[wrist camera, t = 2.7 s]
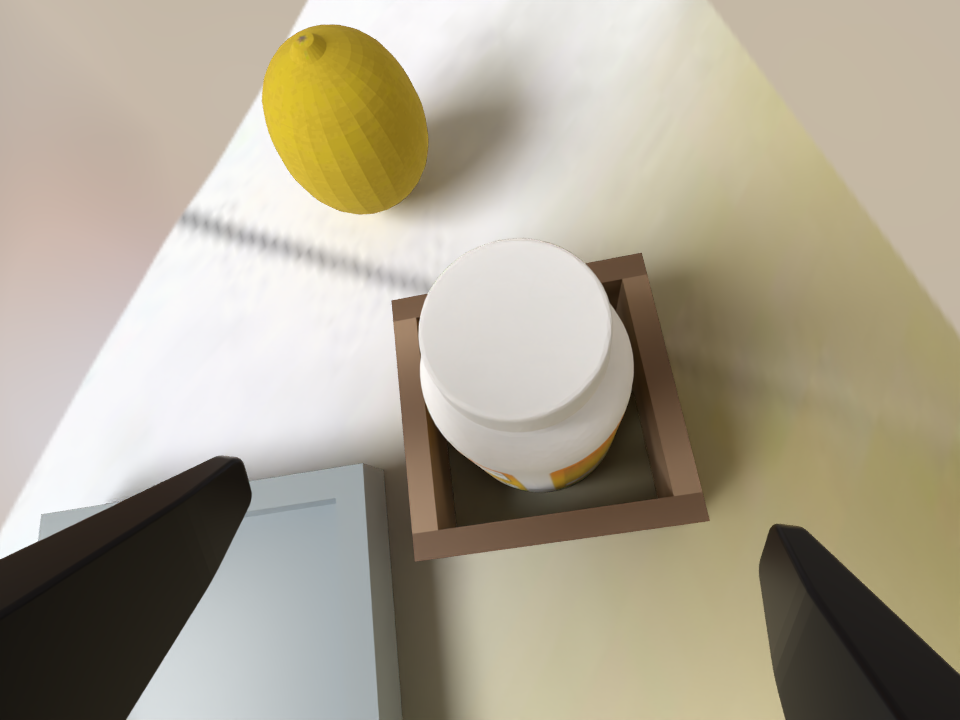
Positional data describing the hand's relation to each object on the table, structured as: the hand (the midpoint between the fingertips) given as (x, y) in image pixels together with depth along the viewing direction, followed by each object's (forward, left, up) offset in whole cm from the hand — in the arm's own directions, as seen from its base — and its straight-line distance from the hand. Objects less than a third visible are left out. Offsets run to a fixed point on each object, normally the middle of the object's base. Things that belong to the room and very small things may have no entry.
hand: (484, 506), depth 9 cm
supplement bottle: (+4, -1, -11) cm, 11 cm away
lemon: (+15, +4, -11) cm, 18 cm away
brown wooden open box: (+4, -1, -10) cm, 11 cm away
